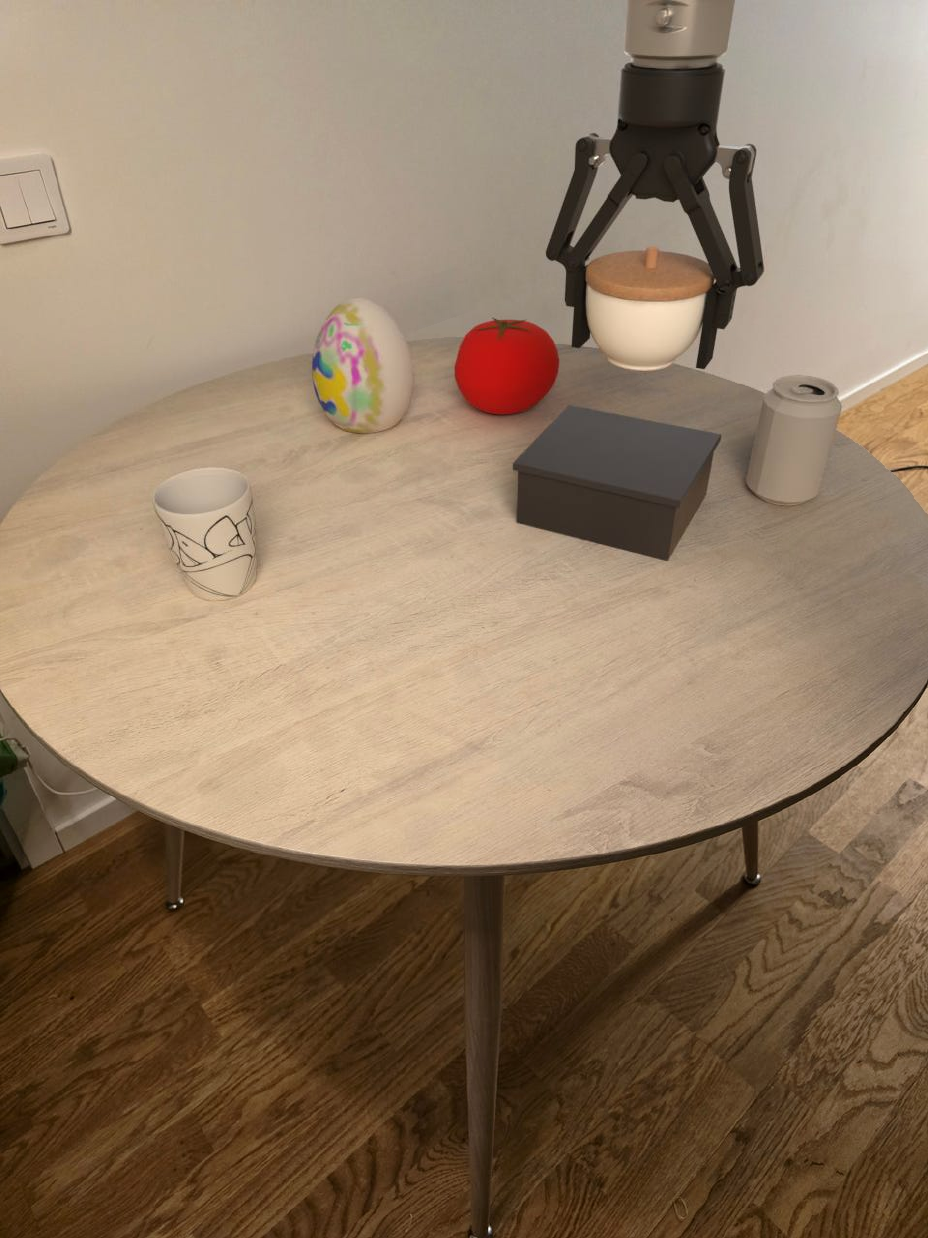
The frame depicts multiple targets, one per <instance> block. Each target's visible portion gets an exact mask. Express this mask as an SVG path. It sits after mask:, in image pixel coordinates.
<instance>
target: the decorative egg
mask: <svg viewBox="0 0 928 1238" xmlns="http://www.w3.org/2000/svg"><path fill="white" fill-rule="evenodd" d="M311 362H312V363H311V365H312V366H311V373H312V383H313V388H314V393H315V396H316V398H317V401H318V403H319V405H320V407H321V409H322V411H323V412H324V414H325V415H326V416H327V418H328V419H329V420H330V421H331V422H332V423H333V424H334V425H335V426H336V427H338V428H339V429H341V430H343V431H345V432H348V433H353V434H364V435H365V434H375V433H379V432H384V431H387V430H389V429H392V428H393V427H395V426H396V425H397V424H398V423H399V422H400V421H401V420H402V418H403V417H404V416H405V414H406V412H407V411H408V409H409V406H410V404H411V400H412V399H413V393H414V388H415V386H414V385H415V370H414V369H415V368H414V364H413V358H412V354H411V350H410V347H409V344H408V342H407V339H406V337H405V336H404V334H403V331H402V330H401V328H400V326H399V325H398V324H397V322H396V321H395V319H394V318H393V317H392V316H391V315H390V313H388V312H387V311H386V309H384V308H383V307H382V306H381V305H380V304H378V303H377V302H375V301H373V300H371V299H368V298H365V297H358V296H357V297H351V298H350V297H349V298H348V299H345V300H343V301H342V302H340V303H339V304H337V305H336V306H335V307H334V308H333V309H332V310H331V311H330V313H329V314H328V315H327V316H326V318H325V320H324V322H323V323H322V325H321V327H320V329H319V331H318V333H317V337H316V340H315V344H314V348H313V353H312V361H311Z"/></svg>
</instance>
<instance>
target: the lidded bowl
mask: <svg viewBox="0 0 928 1238" xmlns="http://www.w3.org/2000/svg"><path fill="white" fill-rule="evenodd" d="M587 265H588V266H587V267H586V282H587V286H586V315H587V322H588V326H589V329H590V336H591V337H592V339H593V341H594V343H595V344H596V346H597V347H598V348H599V350H601V352H602V353H603V354H604V355H605V358H606V360H607V361H608V362H609V363H610V364H612V365H614V366H615V367H618V368H622V369H625V370H630V371H631V370H632V371H638V372H639V371H640V372H641V371H643V372H647V371H648V372H649V371H657V370H662V369H666V368H668V367H670V366H672V365H673V364H674V363H675V361H676V359H677V358H679V357H680V356H681V355H683V354H684V353H685V352H686V351H687V350H688V349H689V348H691V346H692V344H694V342H695V341H696V339H697V338H698V336H699V334H700V333H701V331H702V324H703V318H704V311H705V305H706V298H707V292H708V290H709V289H710V288H711V287H712V285H713V284H714V283H715V281H716V280H715V278H714V275H713V273H712V271H711V268H710V266H709V263H708V261H705V260H704V259H701V258H698V257H695V256H692V255H688V254H684V253H679V252H674V251H673V252H672V251H665V250H660V247H659V246H656V245H655V246H654V245H649V246H646V249H645V250H642V249H641V250H626V251H625V250H624V251H617V252H612V253H607V254H604V255H601V256H599V257H598V256H597V257H596V258H594V259H592V260H591V261H590V262H589V263H588V264H587Z"/></svg>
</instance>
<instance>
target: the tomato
mask: <svg viewBox="0 0 928 1238" xmlns="http://www.w3.org/2000/svg"><path fill="white" fill-rule="evenodd" d="M491 319H492V320H489V321H484V322H482V323H479V324H477V325H475V326H473V328H471V329H470V330H469V331H468V332H467V333H466V334H465V335H464V337H463V339H462V341H461V343H460V346H459V349H458V352H457V355H456V360H455V363H454V379H455V383H456V385H457V388H458V389H459V391H460V393H461V395H462V397H463V398H464V399H465V400H466V401H467V402H468V403H469V404H470V405H471V406H472V407H475V408H476V409H477V410H479V411H481V412H484V413H487V414H490V415H491V414H492V415H515V414H519V413H522V412H524V411H528V409H530V408H532V407H533V406H536V405H537V404H538V403H539V402H540V401H541V400H542V399H544V398H545V397H546V396H547V394H548V393H549V392H550V391H551V390H552V388H553V386H554V385H555V383H556V381H557V377H558V375H559V370H560V369H559V368H560V357H559V351H558V348H557V346H556V343H555V341H554V339H553V338H552V337H551V335H550V334H549V333H548V332H547V330H545V329H544V328H542V327H541V326H539V325H537V324H535V323H534V322H530V321H528V320H526V319H521V320H520V319H498V318H497V319H496V318H495V317H491Z"/></svg>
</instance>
